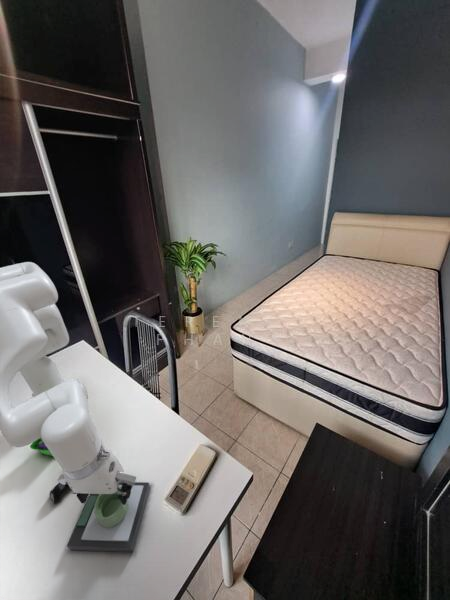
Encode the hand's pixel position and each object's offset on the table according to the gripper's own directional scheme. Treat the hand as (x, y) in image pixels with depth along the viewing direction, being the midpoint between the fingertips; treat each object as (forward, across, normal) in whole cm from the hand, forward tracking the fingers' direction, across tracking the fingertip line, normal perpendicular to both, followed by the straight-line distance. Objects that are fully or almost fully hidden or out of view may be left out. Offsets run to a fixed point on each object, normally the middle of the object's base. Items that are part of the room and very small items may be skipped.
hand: (106, 496), depth 58 cm
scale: (+9, 0, 0) cm, 9 cm away
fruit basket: (+10, +27, -18) cm, 35 cm away
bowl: (+6, 0, 0) cm, 6 cm away
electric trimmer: (+10, +14, -8) cm, 19 cm away
